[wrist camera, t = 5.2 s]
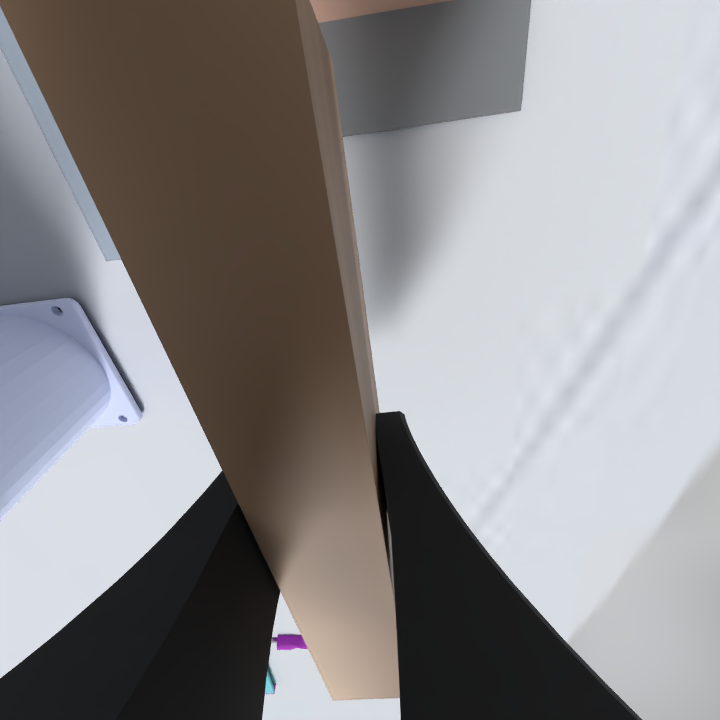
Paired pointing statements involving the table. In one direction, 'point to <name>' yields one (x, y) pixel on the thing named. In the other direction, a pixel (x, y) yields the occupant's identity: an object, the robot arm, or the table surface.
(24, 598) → the table surface
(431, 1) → the tile
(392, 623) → the wooden plank
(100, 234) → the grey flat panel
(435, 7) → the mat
